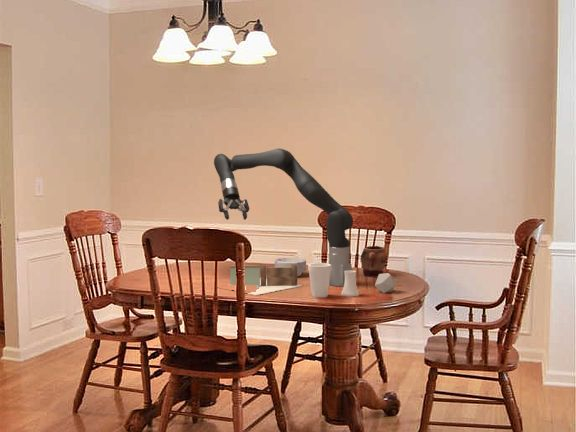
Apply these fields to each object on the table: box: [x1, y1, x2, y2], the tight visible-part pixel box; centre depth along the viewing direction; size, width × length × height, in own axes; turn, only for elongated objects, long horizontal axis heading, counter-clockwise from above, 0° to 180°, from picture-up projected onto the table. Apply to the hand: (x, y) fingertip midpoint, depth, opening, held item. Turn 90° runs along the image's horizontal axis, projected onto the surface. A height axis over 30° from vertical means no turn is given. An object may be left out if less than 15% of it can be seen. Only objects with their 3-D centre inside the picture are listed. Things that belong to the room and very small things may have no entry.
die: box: [374, 272, 398, 294], centre depth 293 cm, size 8×9×10 cm
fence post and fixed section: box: [260, 264, 298, 286], centre depth 307 cm, size 16×2×9 cm, turn 90°
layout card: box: [245, 278, 304, 296], centre depth 306 cm, size 26×28×1 cm
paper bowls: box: [274, 257, 307, 278], centre depth 333 cm, size 15×15×8 cm
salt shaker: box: [340, 270, 360, 298], centre depth 287 cm, size 8×8×10 cm
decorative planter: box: [360, 245, 387, 278], centre depth 330 cm, size 20×12×14 cm, turn 168°
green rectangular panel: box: [229, 264, 261, 285], centre depth 307 cm, size 13×2×9 cm, turn 90°
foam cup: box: [307, 262, 331, 298], centre depth 286 cm, size 10×9×13 cm
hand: (236, 218), depth 321 cm, fingers open, 8 cm apart
